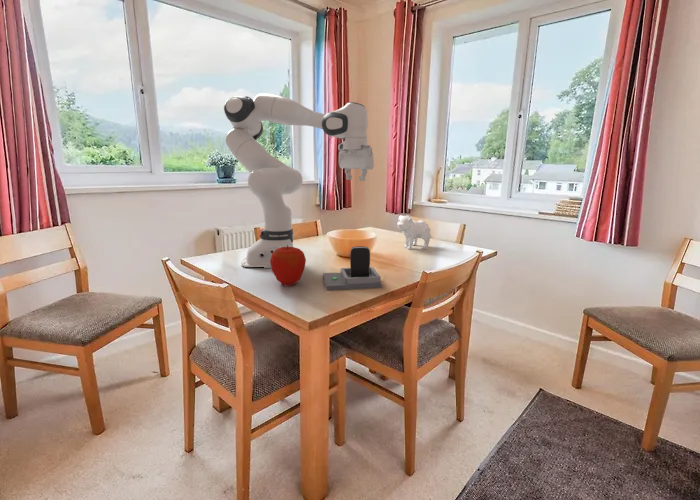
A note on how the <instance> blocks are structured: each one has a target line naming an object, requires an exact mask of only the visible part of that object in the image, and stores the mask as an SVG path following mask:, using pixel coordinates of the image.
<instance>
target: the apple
mask: <svg viewBox="0 0 700 500" xmlns="http://www.w3.org/2000/svg"><path fill="white" fill-rule="evenodd" d="M306 262H307V258H306V256H305V253H304V251H303V250H302V249H300V248H297V247H295V246H293V247H288V245H287V247H281V248H278V249H276V250H275V251H274V252H273V253H272V256H271V260H270V263H271V268H270V269H271V271H272V273H273V275H274V277H275V279H276V280H277V282H279V283H280V284H281V285H283V286H284V285H286V286H285V287H290V285H291V286H293V285H296V283H297V282H299V281H300V280H301V278H302V276H303V273H304V272H305V267H306Z"/></svg>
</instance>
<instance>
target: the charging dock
mask: <svg viewBox="0 0 700 500" xmlns="http://www.w3.org/2000/svg"><path fill="white" fill-rule="evenodd" d="M350 274H351V268H350V267H342V268H340V272H324V273H322V278H323V281H324V285H325V289H326V291H338V290H340V291H342V290H360V289H361V290H363V289H383V283H382V281H381V278H382V277H381V276H380V274H379V273H378V271H377V270H376V269H375V267H372V266H370V268H369V277H350Z"/></svg>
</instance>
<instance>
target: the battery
mask: <svg viewBox="0 0 700 500" xmlns="http://www.w3.org/2000/svg"><path fill="white" fill-rule="evenodd" d="M349 254H350V258H349V263H350V267H349V268H351V274H350V277H369V268H370V267H371V266H370V265H371V250H370V249H369V247H368V246H362V245H361V246H360V245H359V246H357V245H356V246H355V245H354V246H353V247H351V249H350V251H349Z"/></svg>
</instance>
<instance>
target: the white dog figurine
mask: <svg viewBox="0 0 700 500" xmlns="http://www.w3.org/2000/svg"><path fill="white" fill-rule="evenodd" d="M395 226H397V228H398V229H399V230H400V231H402V234H403V235H404V238H405V239H404V243H405V244H404V245H403V248H404V247H405V248H404V249H406V250H407V249H408V250H407V251H410V250H412V248H413V245H415V246H417V242H418V239H421V240H423V241H424V242H423V245H421V249H422V248H423V249H422V250H426V249H428V248H429V244H430V241H431V240H430V239H431V238H433V235H431V228H430V226H429V223H427V222H426V221H425V220H422V219H419V220H414V219H413V218H412V216H408V215H402V214H400V215H399V216H398V220H397V223H396V224H394V227H395ZM425 248H426V249H425ZM409 249H410V250H409Z"/></svg>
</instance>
